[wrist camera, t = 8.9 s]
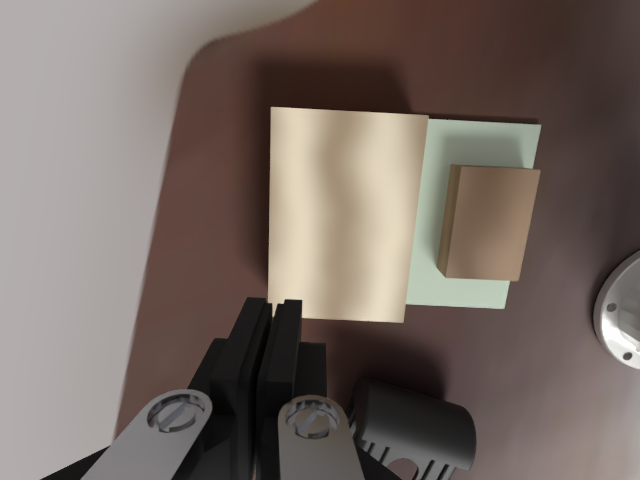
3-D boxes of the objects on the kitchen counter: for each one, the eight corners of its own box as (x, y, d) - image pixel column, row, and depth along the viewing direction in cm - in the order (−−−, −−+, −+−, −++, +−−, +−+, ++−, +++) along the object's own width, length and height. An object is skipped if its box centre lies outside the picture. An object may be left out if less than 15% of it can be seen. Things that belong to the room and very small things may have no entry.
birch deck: (414, 118, 29) (428, 115, 26) (393, 301, 34) (403, 322, 30) (277, 111, 29) (270, 106, 25) (273, 295, 34) (267, 316, 30)
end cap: (457, 388, 36) (487, 442, 30) (428, 443, 38) (450, 506, 32) (363, 358, 35) (372, 408, 29) (338, 416, 37) (341, 475, 31)
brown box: (461, 166, 28) (451, 164, 30) (445, 277, 30) (436, 267, 32) (540, 169, 28) (524, 167, 30) (518, 281, 30) (504, 270, 32)
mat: (538, 125, 30) (541, 124, 29) (502, 306, 34) (504, 308, 33) (408, 118, 29) (409, 117, 29) (388, 301, 34) (389, 303, 33)
